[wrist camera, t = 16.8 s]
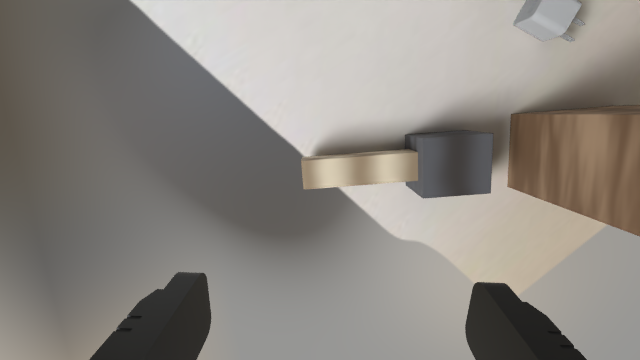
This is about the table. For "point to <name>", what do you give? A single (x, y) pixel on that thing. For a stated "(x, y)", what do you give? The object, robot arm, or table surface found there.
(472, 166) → the mallet
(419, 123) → the table surface
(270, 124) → the table surface
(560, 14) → the usb wall charger
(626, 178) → the wooden block
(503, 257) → the table surface
